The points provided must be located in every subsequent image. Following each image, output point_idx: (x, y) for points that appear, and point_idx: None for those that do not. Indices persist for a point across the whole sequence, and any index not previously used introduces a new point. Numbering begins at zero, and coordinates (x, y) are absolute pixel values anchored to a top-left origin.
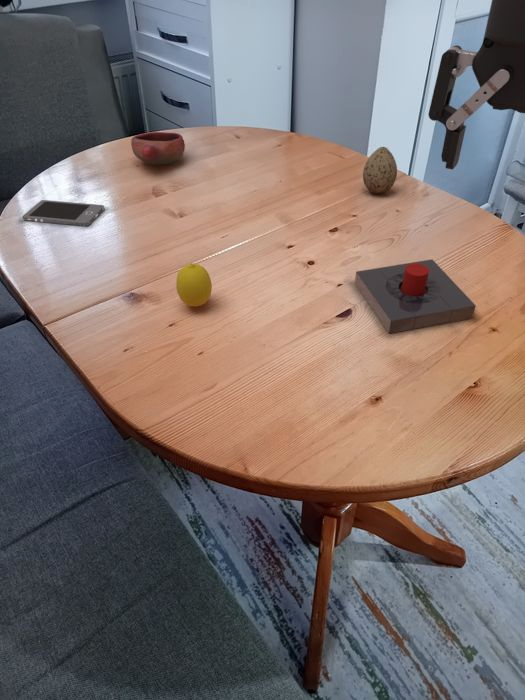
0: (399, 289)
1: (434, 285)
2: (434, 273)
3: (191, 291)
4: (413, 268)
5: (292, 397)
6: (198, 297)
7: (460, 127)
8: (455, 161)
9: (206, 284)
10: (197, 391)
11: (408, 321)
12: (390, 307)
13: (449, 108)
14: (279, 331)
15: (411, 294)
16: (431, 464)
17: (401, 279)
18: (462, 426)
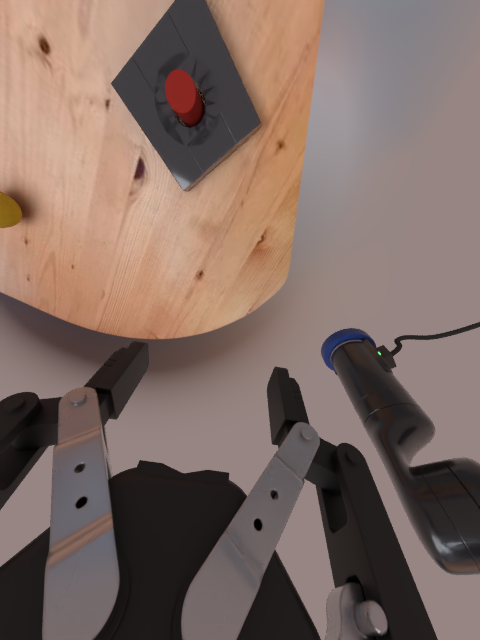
0: None
1: (210, 85)
2: (205, 40)
3: (2, 226)
4: (175, 91)
5: (151, 288)
6: (13, 223)
7: (107, 416)
8: (143, 364)
9: (3, 213)
10: (98, 299)
11: (198, 179)
12: (176, 164)
13: (45, 435)
14: (103, 221)
15: (189, 123)
16: (239, 311)
17: None
18: (254, 281)
